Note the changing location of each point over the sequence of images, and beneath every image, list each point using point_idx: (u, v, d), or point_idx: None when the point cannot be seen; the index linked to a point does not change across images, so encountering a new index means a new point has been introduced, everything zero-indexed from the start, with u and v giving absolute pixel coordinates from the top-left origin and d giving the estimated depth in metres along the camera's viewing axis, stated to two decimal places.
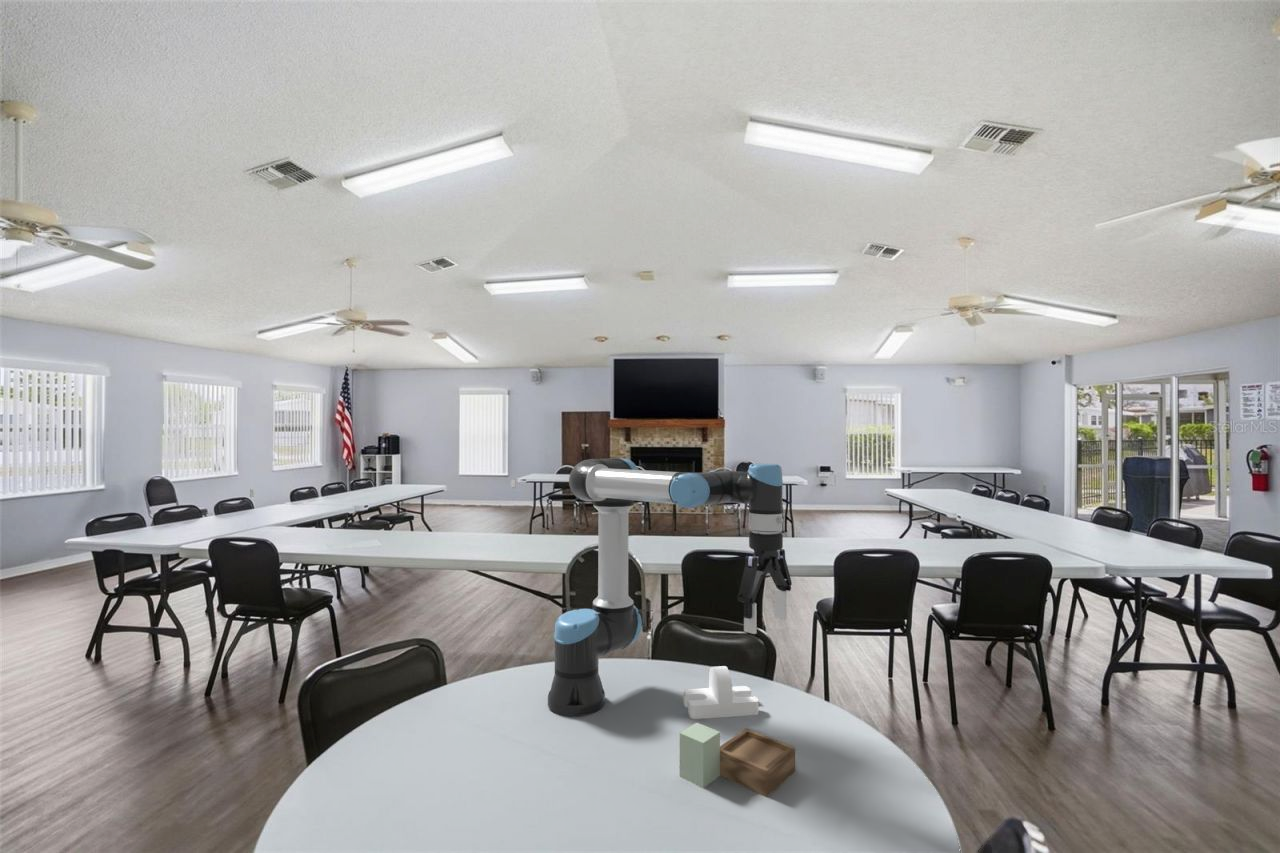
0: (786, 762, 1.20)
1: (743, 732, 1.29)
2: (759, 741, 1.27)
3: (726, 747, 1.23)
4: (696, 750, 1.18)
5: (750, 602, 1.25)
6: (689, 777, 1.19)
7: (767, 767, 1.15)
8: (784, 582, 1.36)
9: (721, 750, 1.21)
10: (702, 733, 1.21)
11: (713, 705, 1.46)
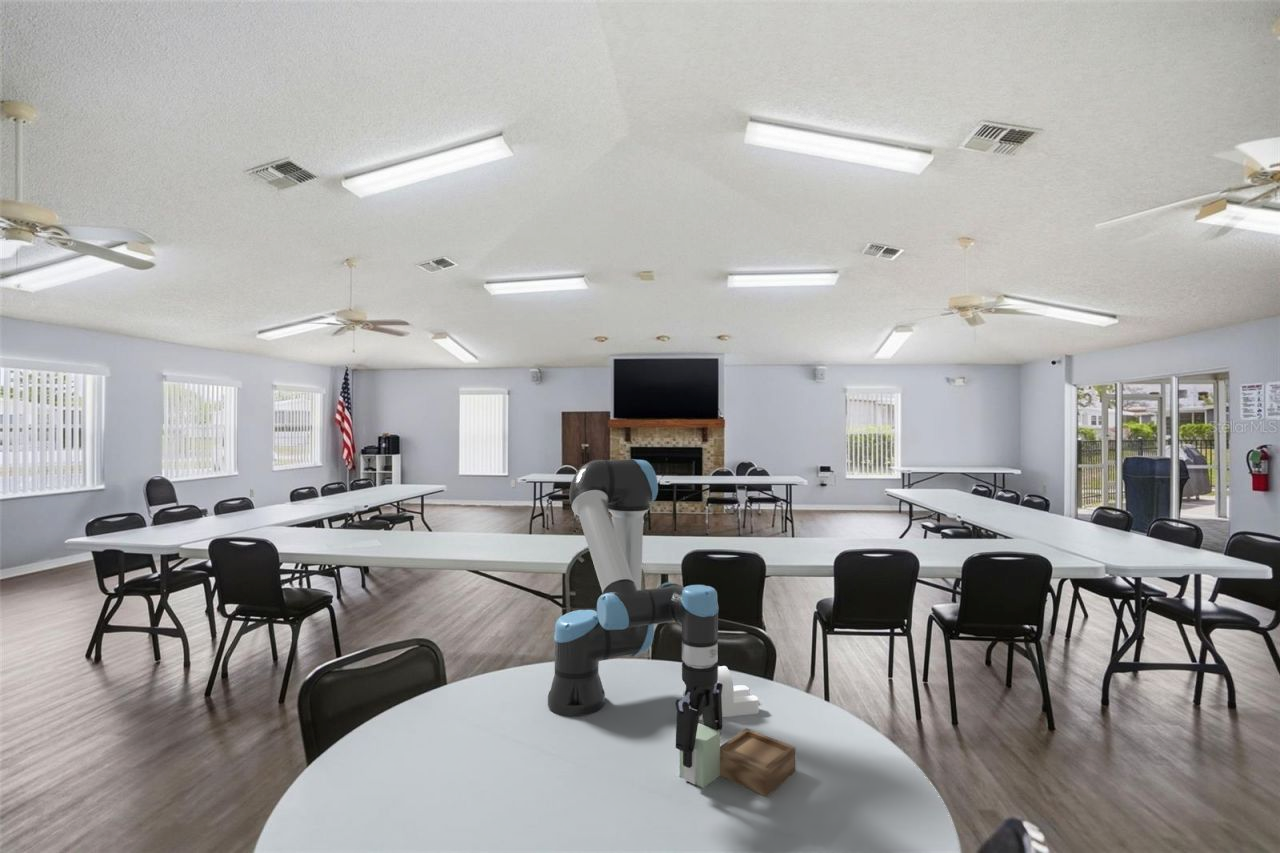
0: (786, 762, 1.20)
1: (743, 732, 1.29)
2: (759, 741, 1.27)
3: (726, 747, 1.23)
4: None
5: (689, 751, 1.17)
6: None
7: (767, 767, 1.15)
8: (714, 725, 1.23)
9: (721, 750, 1.21)
10: (702, 733, 1.21)
11: None
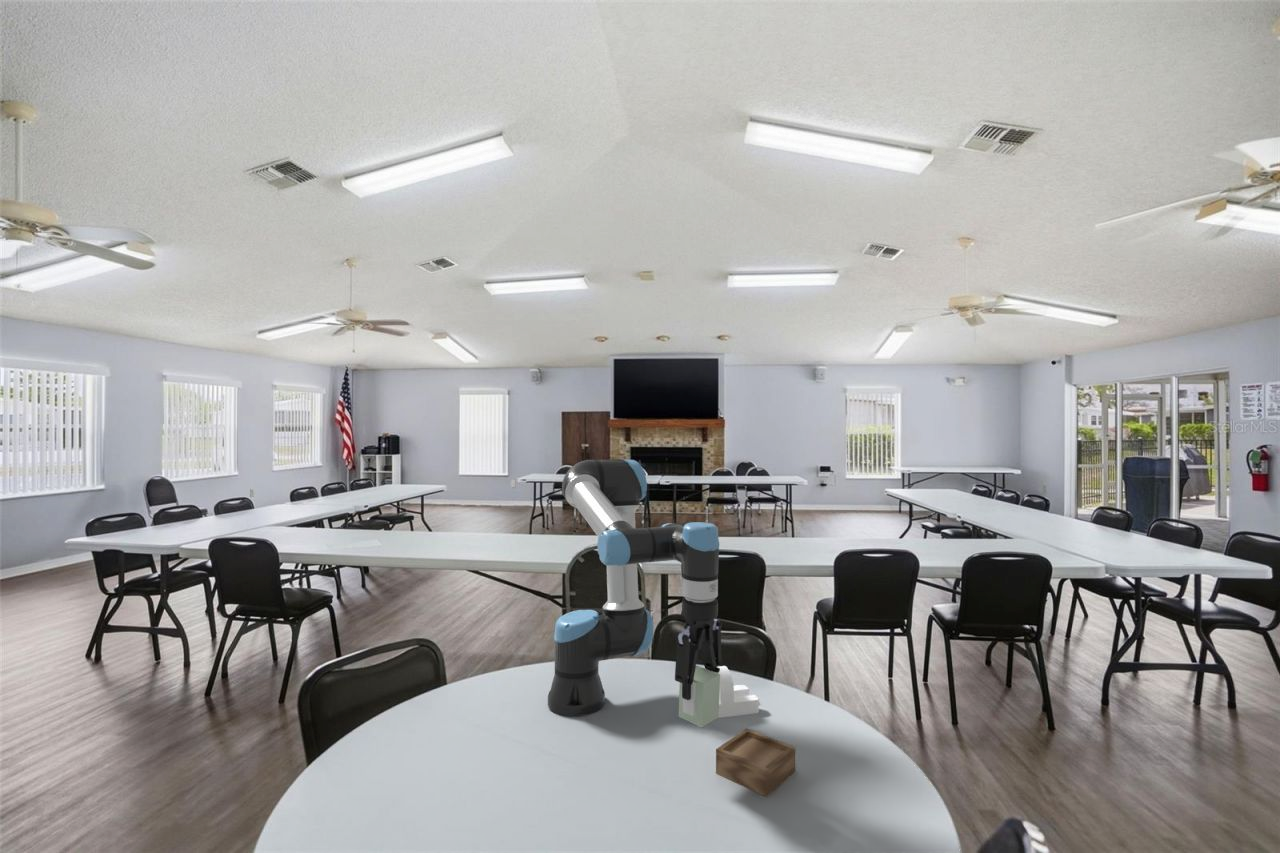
0: (786, 762, 1.20)
1: (743, 732, 1.29)
2: (759, 741, 1.27)
3: (726, 747, 1.23)
4: None
5: (689, 683, 1.17)
6: (688, 717, 1.20)
7: (767, 767, 1.15)
8: (714, 661, 1.24)
9: (721, 750, 1.21)
10: (703, 675, 1.21)
11: None
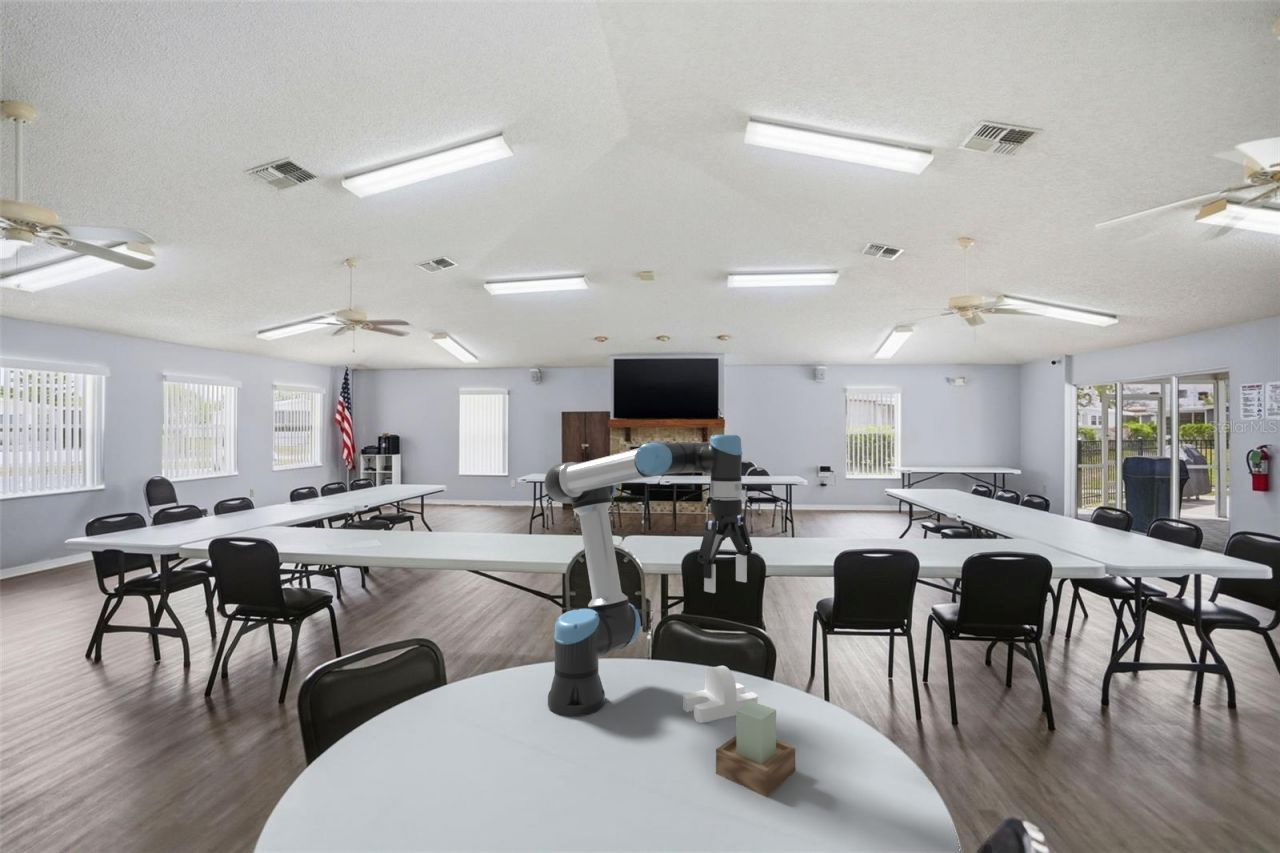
0: (786, 762, 1.20)
1: None
2: None
3: (726, 747, 1.23)
4: (753, 727, 1.19)
5: (709, 563, 1.33)
6: (747, 754, 1.20)
7: (767, 767, 1.15)
8: (744, 547, 1.44)
9: (721, 750, 1.21)
10: (759, 710, 1.22)
11: (720, 706, 1.46)
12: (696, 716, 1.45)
